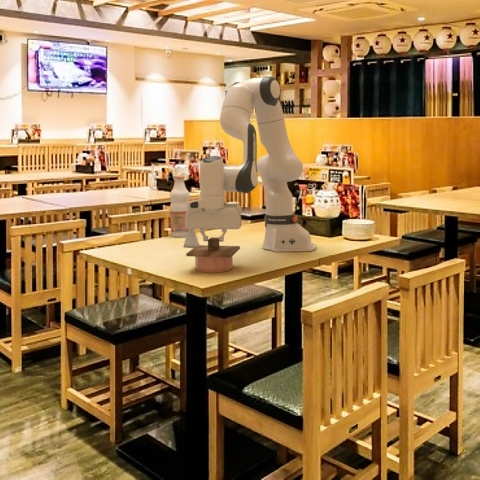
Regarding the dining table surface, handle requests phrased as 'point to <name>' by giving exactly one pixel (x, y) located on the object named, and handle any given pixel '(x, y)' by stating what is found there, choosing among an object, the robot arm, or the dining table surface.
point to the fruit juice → (178, 207)
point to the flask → (191, 239)
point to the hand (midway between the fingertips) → (213, 241)
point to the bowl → (213, 264)
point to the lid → (213, 249)
